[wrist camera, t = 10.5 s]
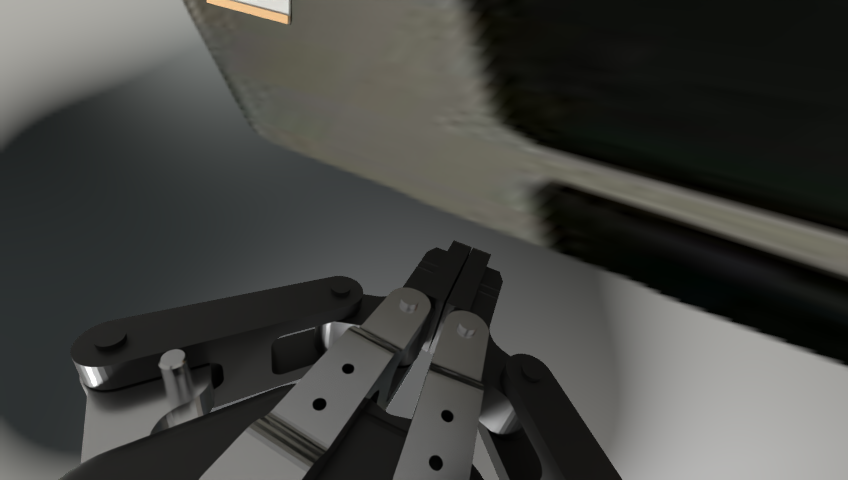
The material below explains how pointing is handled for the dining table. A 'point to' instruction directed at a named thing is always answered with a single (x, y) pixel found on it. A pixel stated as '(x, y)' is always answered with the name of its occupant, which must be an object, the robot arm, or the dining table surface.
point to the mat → (260, 8)
